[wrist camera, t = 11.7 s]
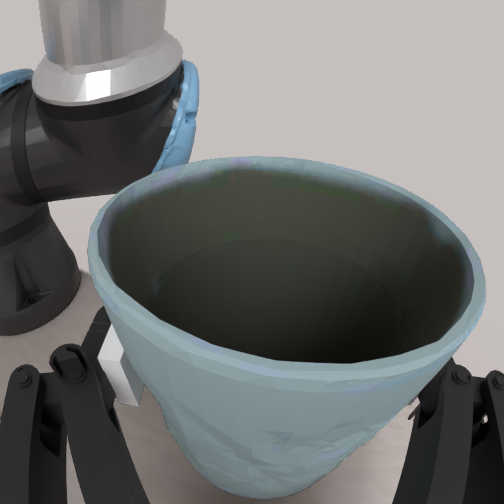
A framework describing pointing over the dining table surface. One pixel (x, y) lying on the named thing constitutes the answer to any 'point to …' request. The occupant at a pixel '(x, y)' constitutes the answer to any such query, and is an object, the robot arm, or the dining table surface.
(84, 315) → the dining table surface
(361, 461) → the dining table surface
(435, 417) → the robot arm
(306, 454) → the embossed teal cup
